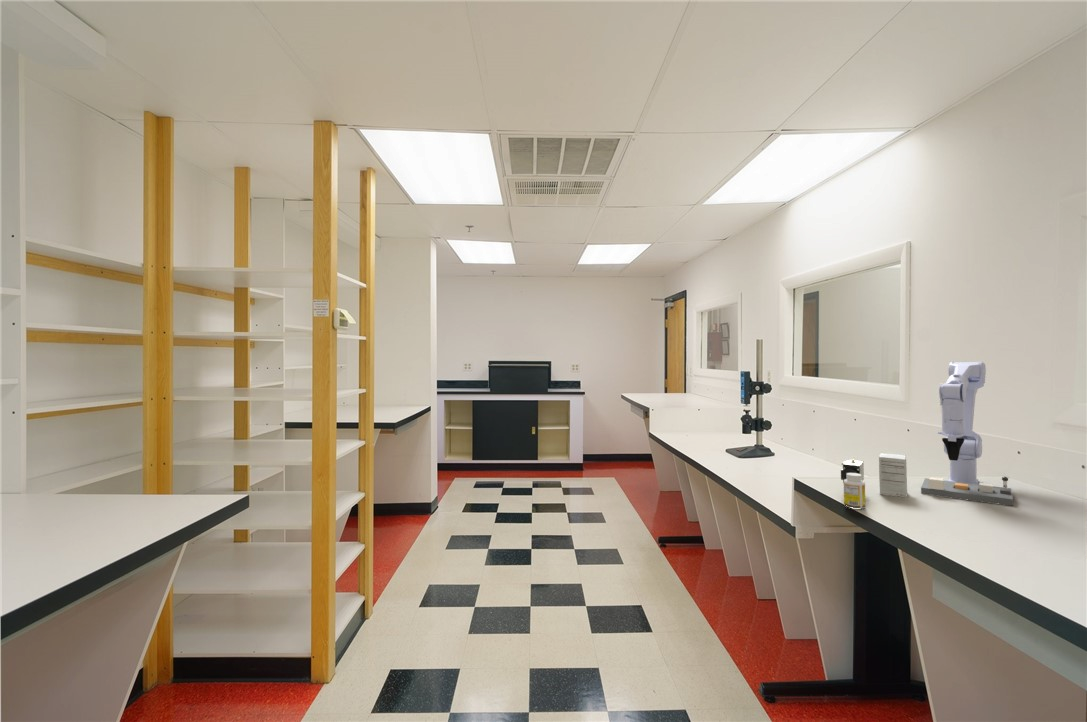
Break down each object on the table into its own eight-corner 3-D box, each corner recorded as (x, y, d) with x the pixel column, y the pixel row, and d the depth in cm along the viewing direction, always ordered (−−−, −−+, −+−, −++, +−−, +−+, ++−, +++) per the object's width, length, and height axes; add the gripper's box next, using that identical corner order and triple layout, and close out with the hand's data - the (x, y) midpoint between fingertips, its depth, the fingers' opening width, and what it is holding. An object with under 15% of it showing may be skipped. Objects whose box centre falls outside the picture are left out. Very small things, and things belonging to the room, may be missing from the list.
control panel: (925, 483, 174) (925, 475, 174) (1011, 494, 159) (1010, 485, 159) (921, 493, 162) (921, 484, 162) (1013, 506, 148) (1012, 496, 148)
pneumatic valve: (864, 492, 165) (864, 457, 165) (859, 500, 156) (858, 463, 156) (845, 489, 169) (844, 455, 169) (839, 498, 160) (838, 461, 160)
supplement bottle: (858, 504, 153) (857, 471, 153) (869, 510, 147) (869, 476, 147) (840, 504, 153) (839, 472, 153) (851, 510, 148) (850, 476, 147)
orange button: (955, 490, 163) (955, 482, 163) (968, 491, 161) (967, 484, 161) (954, 492, 161) (954, 484, 161) (967, 494, 159) (967, 486, 159)
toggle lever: (1001, 487, 155) (1001, 476, 156) (1008, 488, 154) (1008, 477, 155) (1002, 486, 154) (1001, 475, 155) (1008, 487, 153) (1008, 476, 154)
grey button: (979, 490, 159) (979, 482, 159) (992, 492, 157) (992, 484, 157) (979, 492, 157) (979, 484, 157) (992, 494, 155) (992, 486, 155)
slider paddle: (930, 486, 163) (929, 477, 163) (944, 488, 160) (943, 478, 160) (929, 488, 160) (929, 479, 160) (943, 490, 158) (943, 480, 158)
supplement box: (880, 489, 169) (880, 452, 168) (907, 492, 164) (906, 454, 164) (878, 494, 163) (878, 456, 163) (906, 498, 158) (906, 459, 158)
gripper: (939, 416, 172) (939, 455, 172) (936, 421, 161) (936, 462, 162) (965, 417, 168) (966, 457, 168) (964, 422, 157) (964, 465, 157)
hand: (953, 460), depth 164 cm, fingers closed
